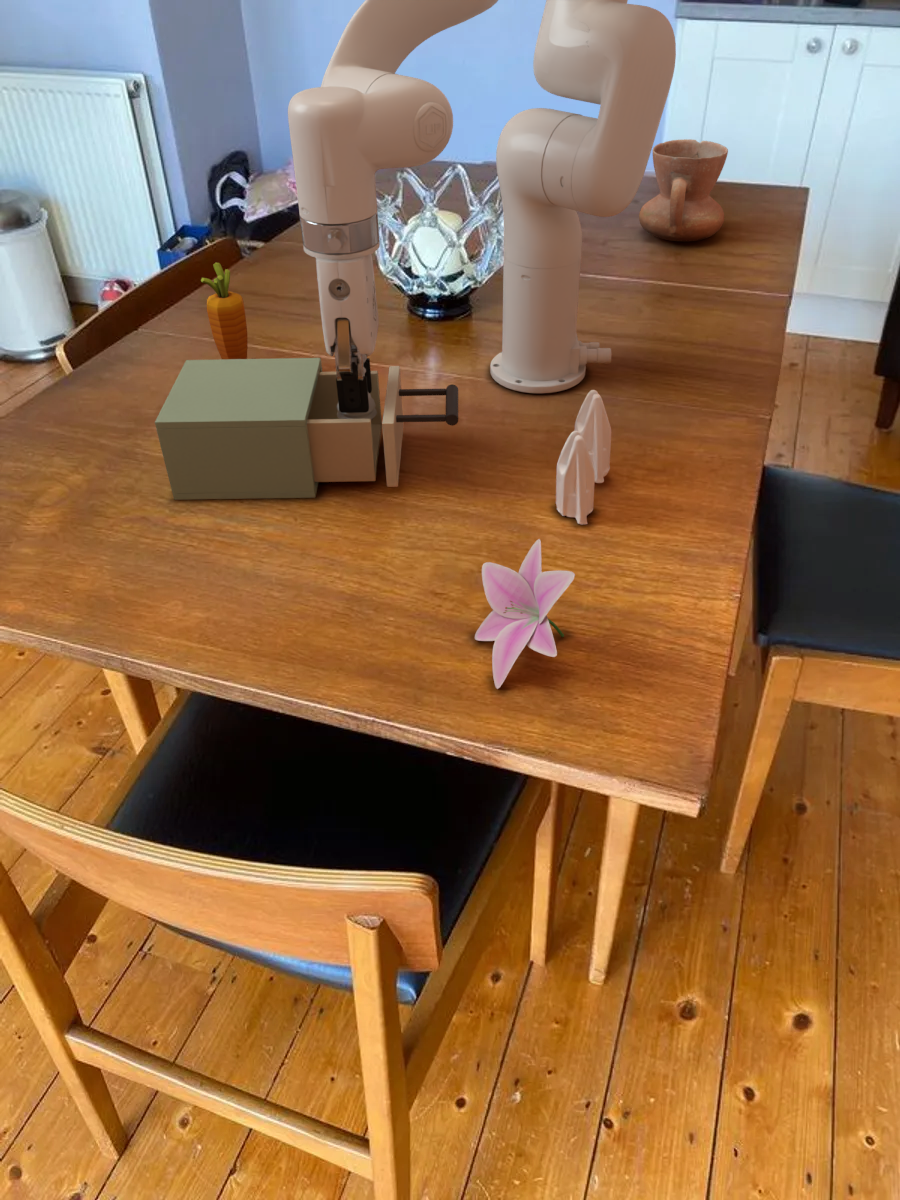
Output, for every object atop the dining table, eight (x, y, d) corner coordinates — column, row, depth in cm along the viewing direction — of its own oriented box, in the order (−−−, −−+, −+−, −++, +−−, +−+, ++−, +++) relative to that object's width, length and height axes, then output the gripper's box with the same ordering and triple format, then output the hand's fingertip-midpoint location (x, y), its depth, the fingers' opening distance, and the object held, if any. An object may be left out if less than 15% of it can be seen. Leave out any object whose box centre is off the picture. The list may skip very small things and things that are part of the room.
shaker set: (578, 462, 107) (584, 372, 100) (614, 468, 106) (623, 378, 99) (548, 518, 98) (553, 425, 91) (586, 526, 97) (595, 432, 90)
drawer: (459, 425, 112) (458, 364, 107) (459, 485, 102) (458, 422, 97) (283, 427, 113) (274, 367, 108) (265, 488, 102) (254, 425, 97)
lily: (489, 600, 90) (445, 547, 83) (607, 572, 85) (571, 513, 78) (489, 714, 83) (441, 667, 76) (616, 690, 79) (578, 638, 72)
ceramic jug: (649, 215, 172) (659, 132, 163) (729, 224, 168) (743, 138, 159) (624, 248, 160) (633, 159, 151) (709, 258, 155) (724, 167, 146)
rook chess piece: (330, 423, 103) (322, 355, 98) (348, 404, 106) (341, 338, 101) (366, 430, 102) (360, 361, 97) (383, 411, 105) (379, 344, 100)
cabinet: (329, 431, 114) (320, 357, 108) (315, 497, 102) (304, 419, 96) (201, 433, 114) (186, 359, 108) (173, 499, 103) (154, 422, 97)
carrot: (249, 387, 123) (229, 274, 113) (213, 385, 124) (191, 272, 114) (262, 370, 127) (244, 260, 117) (228, 368, 127) (207, 258, 118)
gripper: (372, 261, 85) (385, 439, 97) (383, 204, 98) (394, 367, 109) (290, 263, 85) (313, 440, 97) (312, 206, 98) (330, 368, 109)
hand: (355, 400), depth 103 cm, fingers closed on rook chess piece, 3 cm apart
